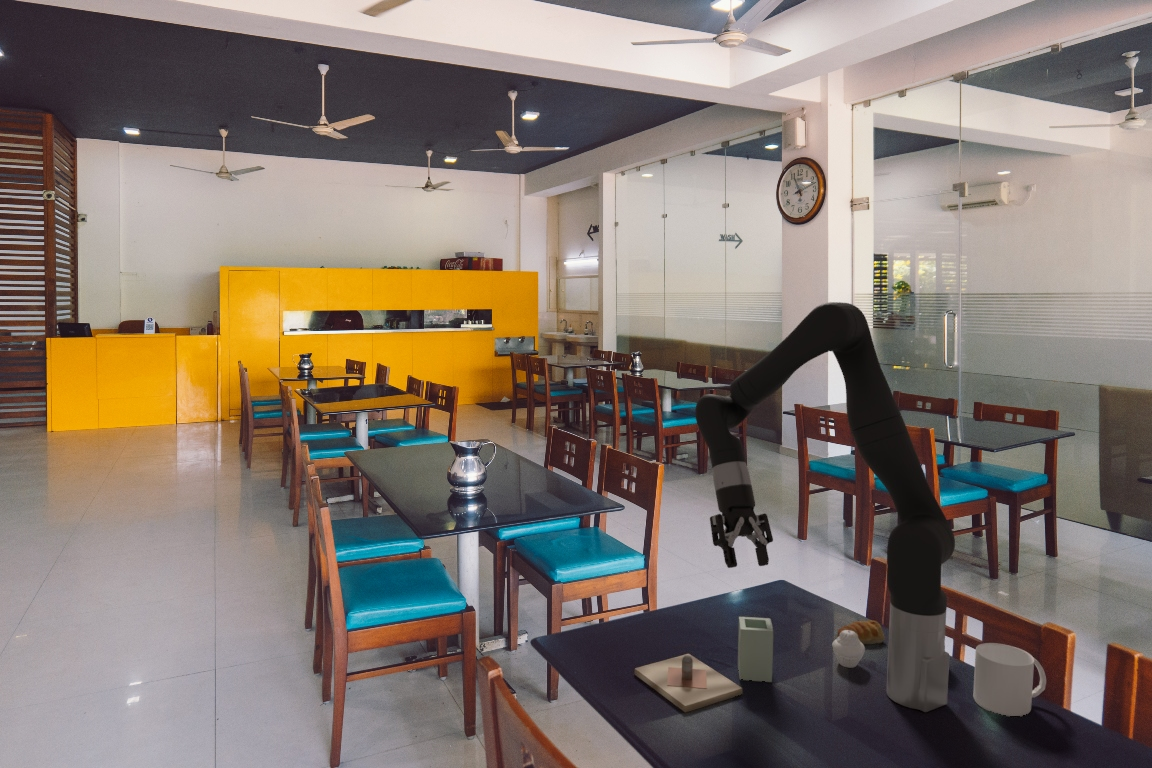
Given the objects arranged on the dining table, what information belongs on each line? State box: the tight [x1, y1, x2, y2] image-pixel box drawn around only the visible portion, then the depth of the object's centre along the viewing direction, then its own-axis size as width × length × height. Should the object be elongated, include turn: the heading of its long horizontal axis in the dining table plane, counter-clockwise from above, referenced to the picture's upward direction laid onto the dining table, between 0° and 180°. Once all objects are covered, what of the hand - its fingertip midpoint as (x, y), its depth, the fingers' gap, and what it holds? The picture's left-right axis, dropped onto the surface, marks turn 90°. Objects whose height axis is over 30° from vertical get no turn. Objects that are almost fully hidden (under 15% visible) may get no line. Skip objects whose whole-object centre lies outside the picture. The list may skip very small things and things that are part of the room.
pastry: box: [836, 619, 886, 646], centre depth 163 cm, size 9×7×4 cm
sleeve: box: [737, 616, 774, 683], centre depth 147 cm, size 6×6×10 cm
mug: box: [972, 642, 1047, 717], centre depth 135 cm, size 12×9×9 cm
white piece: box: [831, 630, 866, 669], centre depth 151 cm, size 6×6×7 cm
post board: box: [634, 653, 743, 713], centre depth 143 cm, size 16×13×6 cm
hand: (748, 566), depth 152 cm, fingers open, 8 cm apart
